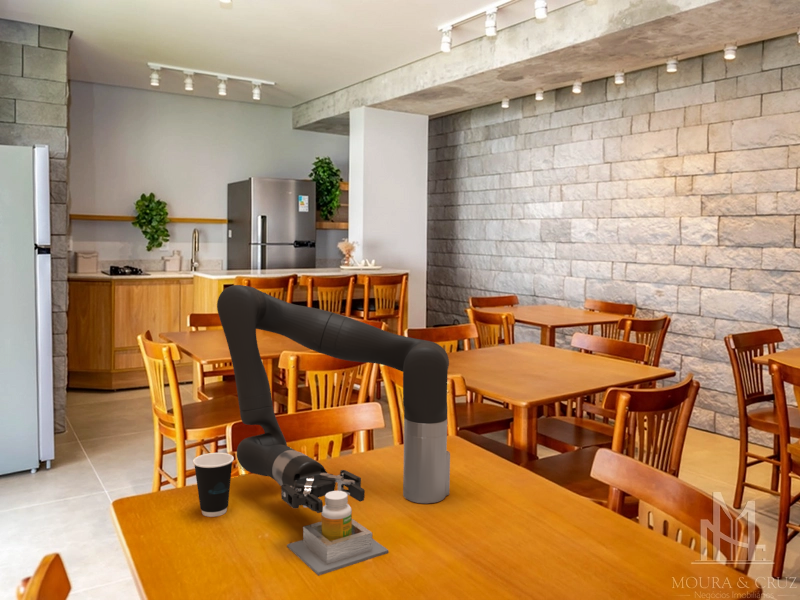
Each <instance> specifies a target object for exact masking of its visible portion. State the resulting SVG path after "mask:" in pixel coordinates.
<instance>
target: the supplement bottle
mask: <svg viewBox="0 0 800 600" xmlns="http://www.w3.org/2000/svg"><path fill="white" fill-rule="evenodd" d="M348 496H349V495H347V493H346V492H343V491H338V490H336V491H331V492H328V493H327V494H326V495H325V496H324V504H325V505H323V512H321V513H320V514H321V515H320V516H321V521H320V522H322V535H323V536H324V537H325V538H326V539H328V540H329V541H333V540H337V539H340V538H343V537H347V536H350V535H352V519H353V518H352V515H353V513H352V511H353V510H352V507H351V506H350V504H349V501H348Z"/></svg>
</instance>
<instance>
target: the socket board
mask: <svg viewBox="0 0 800 600" xmlns="http://www.w3.org/2000/svg"><path fill="white" fill-rule="evenodd" d="M302 530H303V531H302V537H303V538H302V539H301V540H297V541H294V542H290V543H287V544H286V548H288V549H289V550H290V551H291V552H292V553H293V554H294V555H295V556H296V557H297V558H299V559H300V561H302V562H303V563H304V564H305V565H306V566H307V567H308V568H310V570H312V571H313V572H314V573H315V574H316V575H317V576H322V575H325V574H328V573H331V572H334V571H337V570H341V569H344V568H346V567H349V566H353V565H355V564H358V563H362V562H365V561H368V560H371V559H375V558H377V557H380V556H383V555H386V554H389V549H388V548H386V547H385V546H383V545H382V544H381V543H379V542H378V541H377V540H375V539H374V538H373V532H372V531H371V530H369V529H367V527H365V526H363V525H362V524H361V523H359V522H358V521H356V520H355V519H353V518H352V535H350V536H347V537H343V538H340V539H337V540H333V541H329V540H328V539H326V538H325V537H324V536H323V535H322V522H321V521H318V522H315V523H311V524H308V525H304V526H303V527H302Z"/></svg>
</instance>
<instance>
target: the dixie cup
mask: <svg viewBox="0 0 800 600" xmlns="http://www.w3.org/2000/svg"><path fill="white" fill-rule="evenodd" d="M234 459H235V458H234V456H233V455H232V454H231V453H230V454H229V453H226V452H210V453H204V454H201V455H198V456H196V457H194V458H193V460H192V464H193V465H194V470H195V471H194V472H195V479H196V486H197V492H198V493H197V495H198V501H199V502H198V503H199V508H200V511H201V514H202V516H205V517H208V518H209V517H210V518H213V517H220V516H222V515H225V514H226V513H227V510H228V507H229V502H230V501H229V500H230V489H231V481H232V480H231V479H232V470H233V469H232V467H233V461H234Z"/></svg>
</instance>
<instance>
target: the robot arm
mask: <svg viewBox="0 0 800 600" xmlns="http://www.w3.org/2000/svg"><path fill="white" fill-rule="evenodd" d="M216 303H217V304H216V309H217V313H218V317H219V321H220V324H221V326H222V330H223V334H224V336H225V339H226V343H227V347H228V350H229V354H230V358H231V363H232V369H233V374H234V380H235V387H236V392H237V398H238V399H237V400H238V401H237V402H238V407H239V415H240V419H241V422H242V424H244V425H246V426H247V425H248V426H260V427H261V428H262V429H263V431H264V433H261V434H257V435H252V436H248V437H245V438H244V439H242V440H241V441H240V442H239V444H238V445H237V448H236V459H237V460H238V463H239V464H240V466H241V467H242V468H243V469H244V471H247V472H248V473H251V474H255V475H259V476H263V477H269V478H271V479H272V480H274V481H275V482H276V483H277V484H278V485H279V486H280V488H281V489H280V490H281V492H280V493H281V495H280V497H281V500H282V501H284V502H285V503H286V504H287V505H288V506H289V507H291V508H292V509H294V510H296V509H299V507H300V506H302V508H306V509H307V508H308V509H310V510H311V511H313V512H315V513H317V514H321V512H323V507H324V505H323V504H324V502H323V500H322V499H321V498H323V496H324V497H325V495H326V494H327V493H328V492H331V491H343V492H346V493H347V495H348V496H349V497H351V498H353V499H355V500H356V501H358V503H359V502H363V501H365V496H366V495H365V494H366V493H365V491H366V490H365V488H362V477H360V476H358V475H356V474H354V473H352V472H350V471H348V470H346V469H341V470H339V474H338V475H336V474H335V475H334V474H332V473H328V472H327V470H326V469H325V467H324V465H322V464H321V463H320V462H319V461H317V460H315V459H313V458H312V457H310V456H308V455H307V454H304V453H303V452H300V451H297V450H295V449H293V448H292V447H290V446H288V443H287V441H286V438H285V436H284V433H283V431H282V430H281V426H280V424H279V422H278V420H277V417H276V414H275V412H274V406H273V398H272V392H271V387H270V381H269V378H268V374H267V371H266V368H265V366H264V363H263V361H262V357H261V354H260V350H259V345H258V340H257V339H258V338H257V330H260V331H264V332H269V333H274V334H276V335H277V334H278V335H280V336H283V337H285V338H288V339H289V340H290V341H291V340H292V341H293V342H295V343H297V344H298V345H300V346H303V347H305V348H306V349H308V350H312V351H314V352H316V353H320V354H322V355H325V356H328V357H331V358H334V359H339V360H343V361H348V362H354V363H355V362H356V363H368V364H369V363H370V364H377V365H383V366H386V367H390V368H392V369H395V370H397V371H400V372H402V406H403V471H402V472H403V475H402V476H403V477H402V478H403V483H402V484H403V485H402V487H403V488H402V496H403V497H404V498H405V499H406V500H408V501H410V502H412V503H416V504H417V503H418V504H434V503H438V502H441V501H442V500H444V499H446V496H449V495H450V482H451V481H450V480H451V479H450V478H451V477H450V475H451V473H450V472H451V470H450V469H451V452H450V450H448V449H447V448H448V447H447V445H448V443H447V442H448V375H449V374H448V372H449V371H448V370H449V366H450V359H449V355H448V353H447V351H446V349H444V347H442V346H441V345H440V344H438V343H436V342H435V341H431V340H425V339H419V338H413V337H410V336H405V335H399V334H396V333H392V332H389V331H386V330H384V329H381V328H379V327H377V326H375V325H374V326H373V325H371V324H368V323H366V322H363V321H360V320H357V319H354V318H352V317H349V316H346V315H342V314H339V313H335V312H332V311H328V310H324V309H322V308H321V309H320V308H315V307H310V306H305V305H298V304H294V303H290V302H287V301H285V300H282V299H280V298H277V297H275V296H272V295H270V294H268V293H266V292H264V291H262V290H260V289H258V288H255V287H254V286H253V287H252V286H248V285H242V284H233V285H230V286H228V287H226V288H224V289H223V290H222V291H221V292H220V294H219V296H218V298H217V302H216ZM336 483H337V490H335V489H336ZM345 487H346V488H348V489H346V488H345Z"/></svg>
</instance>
